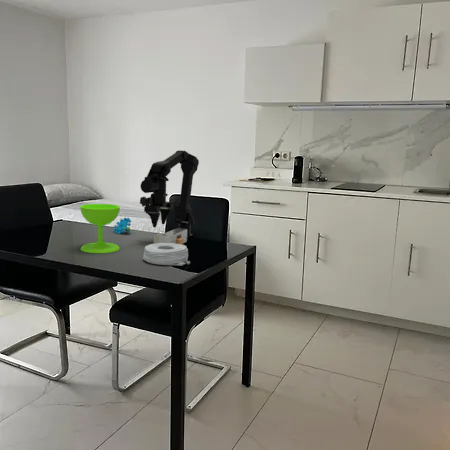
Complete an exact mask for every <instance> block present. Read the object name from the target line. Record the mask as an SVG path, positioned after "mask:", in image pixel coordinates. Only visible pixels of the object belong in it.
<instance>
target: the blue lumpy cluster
mask: <svg viewBox="0 0 450 450" xmlns="http://www.w3.org/2000/svg"><path fill="white" fill-rule="evenodd" d="M131 222H132V220H131V219H130V218H129V217H124V218H120V219H119V221H117V222H115V223H116V225H114V226H113V232H114V233H115V234H116V233H117V234H118V235H120V234H121V233H122V234H123V233H125V232H126V233H130V234H131V235H132V234H133V232H132V231H131V228H130V226H131Z"/></svg>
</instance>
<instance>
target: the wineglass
mask: <svg viewBox="0 0 450 450" xmlns="http://www.w3.org/2000/svg"><path fill="white" fill-rule="evenodd" d="M120 208H121V206H120V205H116V204H110V203H108V204H107V203H89V204H82V205H80V206H79V209H80V213H81V215H82V217H83V218H84V220H86V222H88V223H89V224H91V225H94V226H97V241H96V242H90V243H85V244H84V245H82V246H81V248H80V251H82V252H83V253H84V252H85V253H90V254H108V253H114V252H117V251H119V250H121V249H120V246H119V245H117V244H116V243H112V242H105V241H104V240H103V239H104V238H103V237H104V236H103V235H104V234H103V230H104V228H103V226H106V225H110V224H111V223H112V222H114V221H115V220H116V218H117V217H118V215H119V213H120V210H121V209H120Z"/></svg>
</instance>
